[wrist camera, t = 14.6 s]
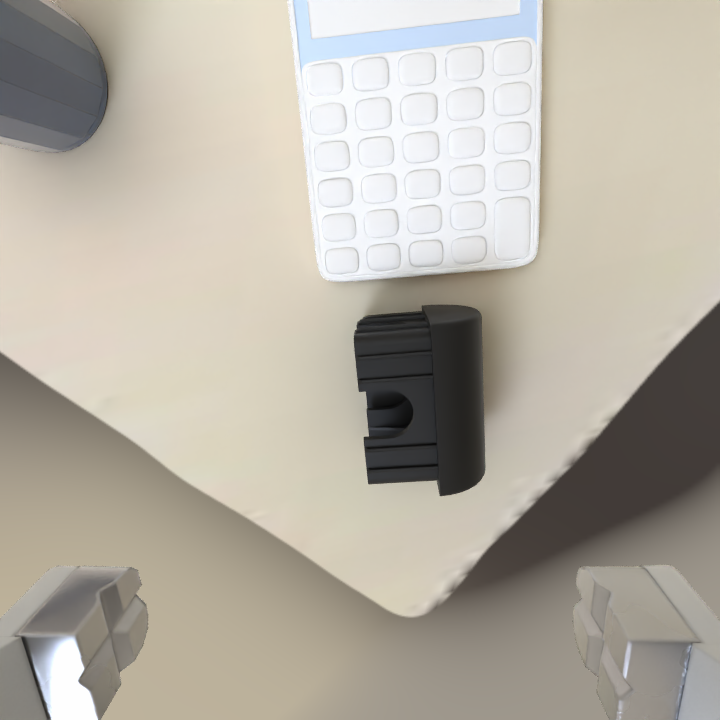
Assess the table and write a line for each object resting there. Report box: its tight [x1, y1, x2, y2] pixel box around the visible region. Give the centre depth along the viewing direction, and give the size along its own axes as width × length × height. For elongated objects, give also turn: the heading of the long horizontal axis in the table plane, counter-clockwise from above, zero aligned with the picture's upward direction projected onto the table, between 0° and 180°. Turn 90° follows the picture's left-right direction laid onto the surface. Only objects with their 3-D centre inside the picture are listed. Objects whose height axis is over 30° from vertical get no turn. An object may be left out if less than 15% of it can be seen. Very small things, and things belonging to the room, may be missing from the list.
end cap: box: [354, 305, 485, 496], centre depth 28 cm, size 10×7×7 cm
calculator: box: [287, 0, 543, 282], centre depth 26 cm, size 13×20×2 cm, turn 5°
